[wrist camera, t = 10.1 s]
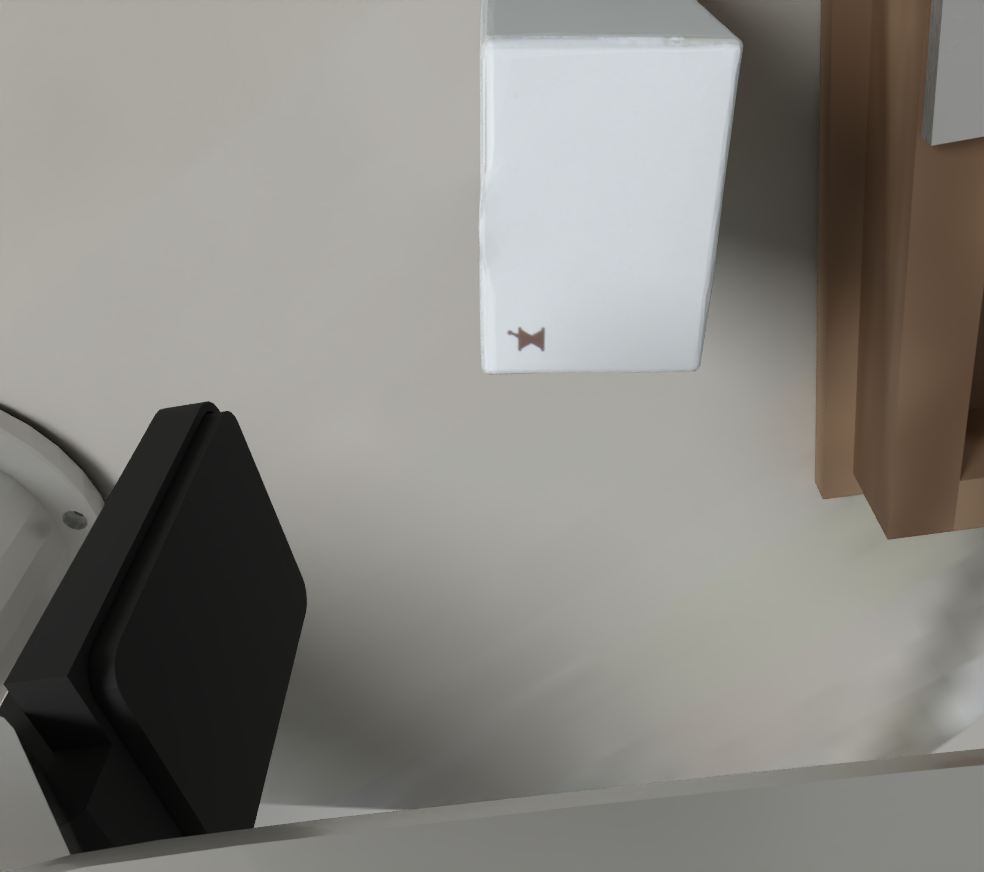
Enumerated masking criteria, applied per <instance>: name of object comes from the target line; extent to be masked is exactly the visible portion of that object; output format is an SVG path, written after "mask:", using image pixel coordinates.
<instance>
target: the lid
mask: <svg viewBox="0 0 984 872" xmlns="http://www.w3.org/2000/svg"><path fill="white" fill-rule="evenodd" d="M978 137H984V0H932V3H931V16H930V30H929V43H928V57H927V70H926V84H925V97H924V110H923V124H922V137H921V138H922V139H923V140H925V141H926V142H927V143H928V144H930V145H931V146H933V145H938V144H944V143H950V142H955V141H961V140H967V139H972V138H978Z"/></svg>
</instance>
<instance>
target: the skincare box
mask: <svg viewBox="0 0 984 872" xmlns="http://www.w3.org/2000/svg"><path fill="white" fill-rule="evenodd" d="M742 52H743V43H742V41H741V40H740V39H739V38H737V37H736V36H735V35H734V34H733V33H732V32H731V31H730V30H729V29H728V28H726V27H725V26H724V25H723V24H722V23H721V22H720V21H718V20H717V19H716V18H715V17H714V16H713V15H712V14H711V13H710V12H709V11H708V10H707V9H706V8H704V7H703V6H702V5H701V4H700V3H699V2H698V1H697V0H482V11H481V36H480V210H479V242H480V337H481V362H482V368H483V371H484V372H485V373H486V374H489V375H492V374H524V373H574V372H590V373H610V372H627V373H641V372H684V371H696V370H697V369H698V368H699V367H700V364H701V356H702V350H703V343H704V337H705V330H706V323H707V316H708V310H709V304H710V298H711V291H712V284H713V277H714V270H715V262H716V253H717V244H718V235H719V227H720V218H721V209H722V200H723V191H724V184H725V176H726V169H727V161H728V154H729V146H730V139H731V132H732V124H733V116H734V109H735V101H736V93H737V86H738V78H739V71H740V64H741V58H742Z"/></svg>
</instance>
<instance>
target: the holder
mask: <svg viewBox="0 0 984 872" xmlns="http://www.w3.org/2000/svg"><path fill="white" fill-rule="evenodd" d="M931 3H932V0H821V49H820V130H819V212H818V293H817V374H816V456H815V483H816V485H817V487H818V489H819V492H820V494H821V496H822V498H823V499H829V498H837V497H844V496H851V495H859V494H864V495H865V497H866V499H867V501H868V503H869V505H870V507H871V509H872V510H873V512H874V514H875V516H876V518H877V520H878V522H879V524H880V526H881V528H882V530H883V532H884V533H885V535H886V537H887V539H888V540H889V539H896V538H904V537H912V536H919V535H927V534H934V533H942V532H950V531H957V530H965V529H972V528H980V527H984V137H978V138H972V139H967V140H961V141H955V142H950V143H944V144H938V145H933V146H931V145H930V144H928V143H927V142H926V141H925V140H923V139H922V138H921V137H922V124H923V110H924V97H925V84H926V70H927V57H928V43H929V30H930V16H931Z"/></svg>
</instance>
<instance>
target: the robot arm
mask: <svg viewBox="0 0 984 872" xmlns="http://www.w3.org/2000/svg"><path fill="white" fill-rule="evenodd" d="M306 607H307V597H306V589H305V584H304V581H303V578H302V576H301V573H300V571H299V568H298V566H297V563H296V561H295V559H294V556H293V554H292V551H291V549H290V547H289V544H288V542H287V539H286V537H285V534H284V532H283V530H282V527H281V525H280V522H279V520H278V518H277V515H276V513H275V510H274V508H273V506H272V503H271V501H270V498H269V496H268V493H267V491H266V489H265V486H264V484H263V481H262V479H261V477H260V474H259V472H258V469H257V467H256V464H255V462H254V460H253V457H252V455H251V452H250V450H249V448H248V445H247V443H246V440H245V438H244V436H243V433H242V431H241V428H240V426H239V423H238V421H237V419H236V418H235V416H234V415H233V414H232V413H231V412H229V411H225V412H220V411H219V409H218V408H217V407H216V406H215V405H214V404H213V403H211V402H209V401H208V402H202V403H196V404H189V405H183V406H177V407H171V408H165V409H161V410H159V411H158V412H157V413H156V414H155V416H154V418H153V420H152V421H151V423H150V425H149V427H148V429H147V430H146V432H145V434H144V436H143V437H142V439H141V441H140V443H139V444H138V446H137V448H136V450H135V452H134V453H133V455H132V457H131V459H130V460H129V462H128V464H127V466H126V468H125V469H124V471H123V473H122V475H121V476H120V478H119V480H118V482H117V483H116V485H115V487H114V489H113V491H112V492H111V494H110V496H109V498H108V499H107V501H106V503H104V501H103V499H102V497H101V495H100V493H99V492H98V491H97V489H96V488H95V487H94V485H93V484H92V483H91V481H90V480H89V479H88V477H87V476H86V474H85V473H84V472H83V470H82V469H81V468H80V467H78V466H77V465H76V464H75V463H74V462H73V461H72V460H71V459H70V458H69V457H68V456H67V455H66V454H65V453H64V452H63V451H62V450H61V449H60V448H59V447H58V446H57V445H55V444H54V443H52V442H51V441H50V440H48V439H47V438H46V437H44V436H43V435H42V434H40V433H39V432H37V431H36V430H35V429H33V428H32V427H31V426H29V425H27V424H26V423H24V422H22V421H20V420H18V419H16V418H15V417H13V416H11V415H9V414H7V413H5V412H3V411H2V410H0V702H1V701H2V699H3V697H4V695H5V693H6V692H7V690H8V691H9V692H8V694H7V696H6V697H5V699H4V701H3V703H2V705H1V707H0V872H984V749H976V750H966V751H955V752H946V753H936V754H926V755H917V756H907V757H897V758H888V759H878V760H869V761H859V762H849V763H840V764H830V765H820V766H811V767H801V768H792V769H782V770H772V771H763V772H753V773H744V774H734V775H725V776H716V777H706V778H697V779H687V780H678V781H668V782H659V783H649V784H640V785H630V786H621V787H611V788H602V789H593V790H584V791H575V792H566V793H556V794H547V795H538V796H529V797H520V798H511V799H502V800H493V801H484V802H475V803H466V804H457V805H448V806H439V807H429V808H420V809H411V810H402V811H393V812H384V813H375V814H366V815H357V816H348V817H339V818H331V819H321V820H313V821H306V822H297V823H290V824H282V825H274V826H266V827H259V828H254V824H255V820H256V816H257V812H258V808H259V804H260V799H261V795H262V791H263V787H264V783H265V779H266V775H267V770H268V766H269V762H270V758H271V754H272V750H273V746H274V742H275V737H276V733H277V729H278V725H279V721H280V717H281V713H282V708H283V704H284V700H285V696H286V692H287V688H288V684H289V680H290V675H291V671H292V667H293V663H294V659H295V655H296V651H297V646H298V642H299V638H300V634H301V630H302V626H303V622H304V618H305V613H306Z"/></svg>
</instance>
